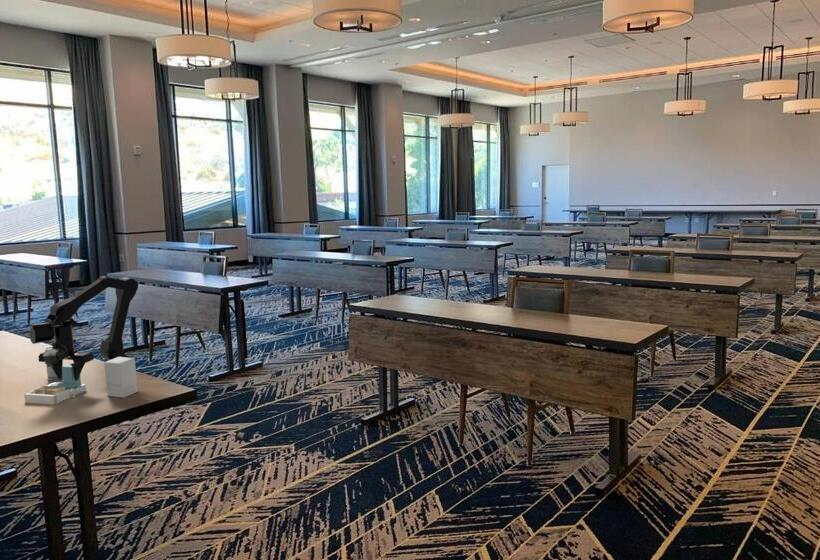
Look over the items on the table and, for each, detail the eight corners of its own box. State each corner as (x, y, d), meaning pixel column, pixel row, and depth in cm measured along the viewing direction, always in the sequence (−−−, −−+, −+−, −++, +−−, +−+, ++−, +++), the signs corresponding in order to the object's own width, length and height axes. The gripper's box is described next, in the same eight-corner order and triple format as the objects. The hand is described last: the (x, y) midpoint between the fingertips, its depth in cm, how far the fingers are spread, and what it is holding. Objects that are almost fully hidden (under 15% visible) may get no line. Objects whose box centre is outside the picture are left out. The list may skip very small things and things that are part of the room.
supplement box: (138, 391, 230) (135, 357, 228) (123, 398, 223) (120, 363, 221) (122, 389, 232) (119, 356, 230) (106, 396, 225) (103, 361, 223)
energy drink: (56, 380, 244) (53, 350, 242) (44, 379, 245) (41, 349, 243) (66, 376, 249) (63, 346, 247) (54, 375, 250) (51, 346, 248)
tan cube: (54, 397, 225) (52, 386, 225) (45, 400, 221) (44, 389, 221) (44, 396, 226) (43, 385, 225) (35, 400, 222) (34, 389, 222)
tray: (69, 397, 224) (69, 389, 223) (55, 404, 217) (54, 396, 217) (40, 395, 226) (39, 387, 226) (25, 402, 220) (24, 394, 219)
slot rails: (86, 390, 231) (85, 384, 231) (71, 397, 224) (70, 391, 223) (54, 388, 234) (54, 382, 233) (39, 395, 226) (38, 389, 226)
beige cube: (66, 397, 224) (64, 386, 224) (57, 401, 220) (56, 390, 220) (56, 397, 225) (55, 386, 224) (47, 401, 221) (46, 390, 221)
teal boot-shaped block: (66, 386, 236) (63, 363, 235) (87, 387, 235) (85, 364, 233) (50, 393, 229) (47, 369, 227) (71, 395, 227) (69, 370, 225)
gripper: (24, 342, 223) (29, 385, 225) (70, 344, 219) (74, 388, 222) (48, 335, 234) (52, 376, 236) (92, 337, 230) (96, 378, 232)
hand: (68, 379), depth 231 cm, fingers open, 7 cm apart
